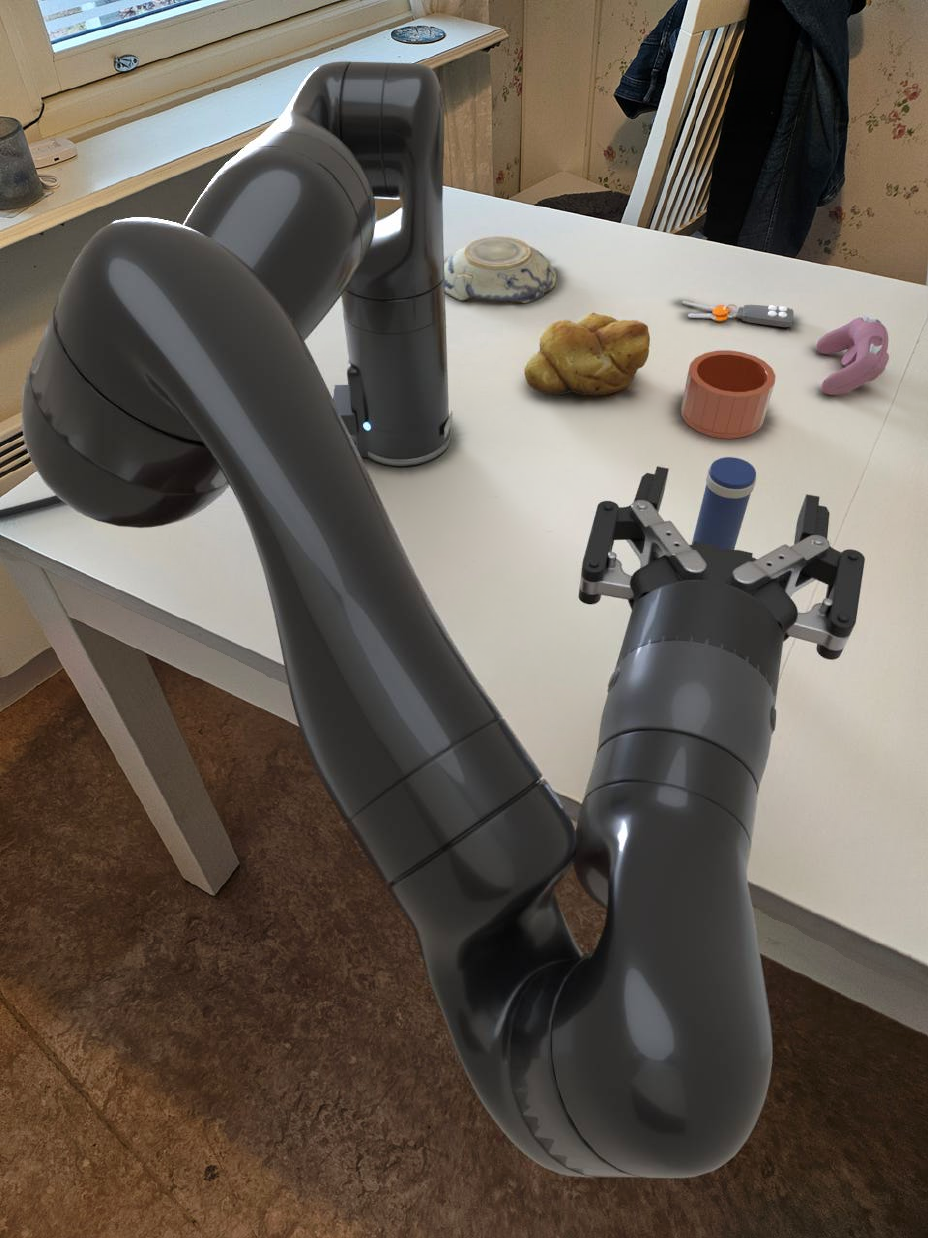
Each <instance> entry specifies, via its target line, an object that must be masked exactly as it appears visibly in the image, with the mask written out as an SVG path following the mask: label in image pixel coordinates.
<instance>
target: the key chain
mask: <svg viewBox="0 0 928 1238" xmlns="http://www.w3.org/2000/svg"><path fill="white" fill-rule="evenodd" d="M681 304H684V305H688V306H691V307H697V308H701V309H704V310H705V309H706V310H710V311H712V313H710V312H708V313H705V312H704V313H703V312H700V313H699V312H697V313H693V312H691V313H688V314H687V315H688V316H687V317H688V318H689V319H711V320H713V321H714V322H725V321H727V320H728V319H731V318H732V319H733V318H736V317H737V319H741V320H742V321H743V322H746V323H749V324H750V323H752V324H757V325H764V326H773V327H779V328H780V327H782V328H790V327H792V326H793V322H794V310H793V308H790V307H786V306H784V305H781V306H777V305H774V304H770V305H761V304H745V305H743V306H740V307H739V306H738V305H737V304H735V303H731V302H730V303H727V304H725V305H723V304H720V305H716V306H710V305H707V304H706V305H705V304H702V303H696V302H692V301H687V300H682V301H681ZM730 307H735V309H736V312H730V311H731V309H730Z"/></svg>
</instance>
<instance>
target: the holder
mask: <svg viewBox="0 0 928 1238" xmlns="http://www.w3.org/2000/svg"><path fill="white" fill-rule="evenodd" d="M688 367H689V368H688V372H687V377H686V381H685V387H684V391H683V396H682V402H681V407H680V415H681V417H682V419H683V421H684V422H685V424H687V425H688V426H689V427H690V428H691V429H692V430H694V431H696V432H698V433H700V434H702V435H704V436H705V435H706V436H708V437H713V438H717V439H726V440H729V439H731V440H734V439H741V438H745V437H748V436H751V435H753V434H755V433H757V431H759V430H760V429H761V428H762V426H763V423H764V421H765V418H766V414H767V412H768V408H769V404H770V401H771V398H772V393H773V390H774V387H775V383H776V373H775V371H774V369H773V368H772V366H771V365H769V364H768V363H767V362H766V361H765V360H763V359H761V358H760V357H757V356H755V355H753V354H750V353H746V352H743V351H738V350H730V349H729V350H728V349H726V350H723V349H722V350H713V351H708V352H705V353H702V354H700V355H698V356H696V357H695V358H693V360H692V361H691V362H690V363H689V366H688Z"/></svg>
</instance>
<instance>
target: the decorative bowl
mask: <svg viewBox="0 0 928 1238" xmlns="http://www.w3.org/2000/svg"><path fill="white" fill-rule="evenodd" d="M554 269H555V268H553V266H552V264H551V262H550V261H549V260H548V258H547V257H546V256H545V255H543V253H542V252H540V251H539V250H538V249H537V248H534V247H533V246H530V245H529V244H528V243H526V242H525V241H524V240H521V239H519V238H515V237H509V236H488V237H482V238H478V239H477V240H474V241H472V242H470V243H469V244H468V245H465V246H463V247H462V248H461V249H458V250H457V251H455V252H453V254H452V255H450V256H449V257H448V258H447V259H446V261H445V262H444V278H445V293H446V294H448V296H451V297H453V298H455V299H456V300H458V301H461V302H464V301H466V300H468V299H471V298H472V299H481V300H488V301H496V302H497V301H501V302H503V301H507V302H509V301H511V302H518V303H522V304H528V303H530V302H533V301H536V300H538V299H540V298H543V297H544V296H545V293H548V292H550V291H551V290H553V289H554V287H555V285H556V282H557V274H556V271H555V270H554Z"/></svg>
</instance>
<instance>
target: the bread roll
mask: <svg viewBox="0 0 928 1238" xmlns="http://www.w3.org/2000/svg"><path fill="white" fill-rule="evenodd" d="M650 342H651V336H650V332H649V326H648V325H647V324H646V323H645V322H642V321H639V320H635V319H634V320H633V319H632V320H626V319H625V320H624V319H622V320H617V319H616V318H614V317H612V316H608V315H605V314H599V313H596V312H591V313H589V314H587V315H585V316H584V317H582V318H581V319H579V320H577V321H576V322H575V321H572V320H567V319H562V320H558V321H556V322H553V323H551V324H550V325H549V326H548V327H546V328H545V330H544V331H543V332H542V334H541V335H540V338H539V350H538V352H536V353H535V354H533V355H532V356H531V357H530V358H529V360H528V361H527V362H526V363H525V366H524V377H525V381H526V382H527V384H528V385H529V387H530V388H532V389H533V390H536V391H538V392H541V393H544V394H548V395H563V394H568V393H571V392H572V393H576V394H577V395H584V396H607V395H610V394H613V393H617V392H620V391H623V390H625V389H626V388H627V386H629V385H630V384H631V383H632V381H633V380H634V379H635V376H636V374H637V372H638V370H639V369H642V368H643V367H644V366H645V364H646V363H647V361H648V358H649V353H650Z"/></svg>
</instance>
